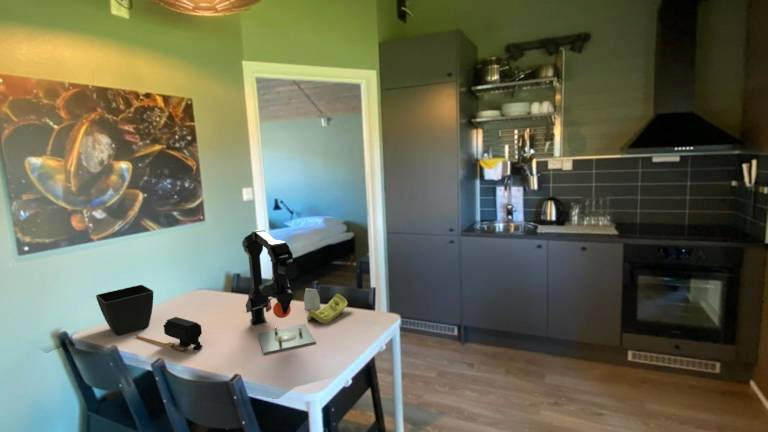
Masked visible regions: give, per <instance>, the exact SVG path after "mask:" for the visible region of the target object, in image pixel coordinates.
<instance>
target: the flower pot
mask: <svg viewBox="0 0 768 432" xmlns="http://www.w3.org/2000/svg"><path fill="white" fill-rule="evenodd" d="M95 297H96V301H97V303H98V306H99V308H100V312H101V314H102V316H103V318H104V320H105V322H106V324H107V325H108V327H109V329H110V330H111V331H112V332H113V334H115V335H116V336H120V335H124V334H127V333H130V332H131V333H132V332H134V331H138V330H139V331H140V330H142V329H145V328H148V327H149V326H150V324H151V323H150V321H151V318H152V313H153V306H154V290H153V289H150V288H149V287H147V286H145V285H144V284H139V285H134V286H133V285H132V286H129V287H125V288H121V289H116V290H112V291H107V292H103V293H99V294H95Z"/></svg>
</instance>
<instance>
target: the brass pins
mask: <svg viewBox="0 0 768 432" xmlns="http://www.w3.org/2000/svg"><path fill="white" fill-rule="evenodd" d="M298 328H299V335H302V328H301V327H298ZM277 329H278V326H275V327H274V328H273V330H275V335H277V334H278V330H277ZM278 340H279V344H282V338H281V336H278Z"/></svg>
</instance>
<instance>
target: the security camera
mask: <svg viewBox="0 0 768 432" xmlns="http://www.w3.org/2000/svg"><path fill="white" fill-rule="evenodd" d="M163 332H164V335H166V336H168V337H170V338H174V339H176V340H179V342H178V346H179V347H182V348H189V347H190V346H191V345H192V346H193V347H192V350H193V351H196V352H197V351H199V350H201V349H202V348H203V344H201V341H199V340H200V338H201V335H202V334H203V333H202V332H203V331H202V325H201V324H200V323H198V322H196V321H192V320H190V319H189V320H188V319H185V318H181V317H177V316H174V317H171V318H168V319H166V322H165V323H164V324H163Z"/></svg>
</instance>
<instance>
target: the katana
mask: <svg viewBox="0 0 768 432" xmlns="http://www.w3.org/2000/svg"><path fill="white" fill-rule="evenodd" d="M135 337H136V338H138V339H139V340H144V341H147V342H148V343H149V342H150V343H152V344H153V343H154V344H156V345H159V346H162V347H164V348H168V349H171V350H179V351H183V352H186V351H187V347H183V346H179V345H178V346H177V345H175V343H174V342H167V343H166V342H162V341H158V340H155V339H150V338H148V337H144V336H141V335H138V334H135Z"/></svg>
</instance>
